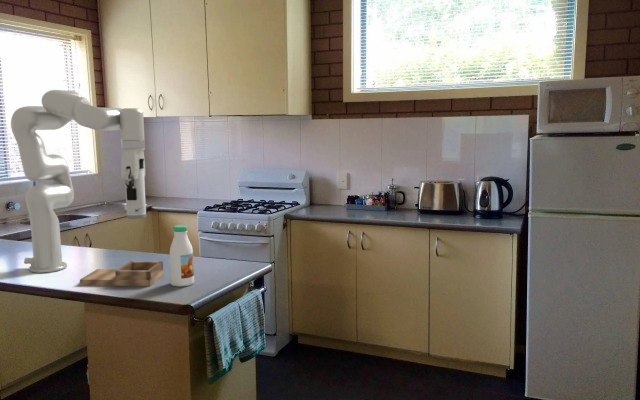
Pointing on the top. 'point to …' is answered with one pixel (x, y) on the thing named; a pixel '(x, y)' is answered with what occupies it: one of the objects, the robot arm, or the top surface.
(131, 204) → the travel mug
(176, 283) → the milk bottle
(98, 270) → the open box
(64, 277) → the top surface
